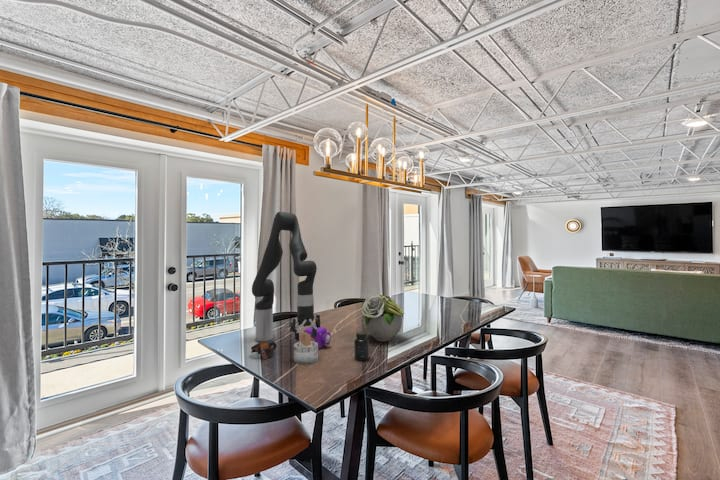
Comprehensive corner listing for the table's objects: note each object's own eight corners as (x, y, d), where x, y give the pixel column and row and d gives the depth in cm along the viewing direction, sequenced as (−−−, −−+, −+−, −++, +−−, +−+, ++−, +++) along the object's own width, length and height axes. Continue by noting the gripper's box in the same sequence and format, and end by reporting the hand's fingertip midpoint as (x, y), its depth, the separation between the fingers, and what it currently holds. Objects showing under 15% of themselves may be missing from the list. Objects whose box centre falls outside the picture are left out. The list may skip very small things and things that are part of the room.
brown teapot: (258, 362, 156) (251, 346, 158) (254, 366, 164) (247, 350, 165) (282, 350, 163) (274, 334, 165) (276, 354, 171) (270, 339, 172)
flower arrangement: (353, 343, 181) (352, 297, 181) (369, 331, 204) (369, 290, 204) (398, 349, 172) (398, 300, 171) (410, 335, 195) (410, 292, 195)
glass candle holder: (289, 358, 159) (289, 344, 159) (310, 353, 166) (310, 339, 166) (300, 365, 150) (300, 350, 150) (322, 360, 157) (322, 345, 157)
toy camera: (327, 350, 170) (327, 330, 170) (301, 349, 173) (301, 329, 173) (333, 344, 181) (333, 325, 181) (309, 342, 184) (309, 324, 183)
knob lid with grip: (296, 347, 159) (296, 333, 159) (308, 345, 163) (308, 331, 163) (302, 351, 154) (302, 336, 154) (315, 348, 158) (315, 333, 158)
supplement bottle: (353, 356, 162) (353, 331, 162) (368, 355, 163) (368, 330, 162) (355, 361, 155) (354, 335, 155) (369, 361, 156) (369, 334, 156)
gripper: (314, 300, 165) (315, 334, 165) (287, 304, 156) (288, 339, 157) (322, 303, 159) (323, 337, 159) (295, 307, 151) (295, 343, 151)
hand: (305, 338), depth 158 cm, fingers open, 8 cm apart
